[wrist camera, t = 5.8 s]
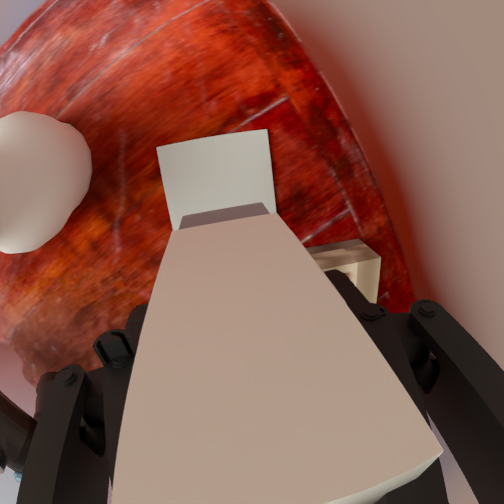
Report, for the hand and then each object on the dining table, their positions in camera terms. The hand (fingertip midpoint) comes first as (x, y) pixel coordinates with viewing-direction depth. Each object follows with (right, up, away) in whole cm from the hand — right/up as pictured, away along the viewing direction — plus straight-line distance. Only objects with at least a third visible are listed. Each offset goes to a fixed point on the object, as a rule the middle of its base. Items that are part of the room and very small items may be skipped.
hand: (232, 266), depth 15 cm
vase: (-23, +11, +13) cm, 28 cm away
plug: (0, +1, +2) cm, 3 cm away
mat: (-3, +8, +17) cm, 19 cm away
